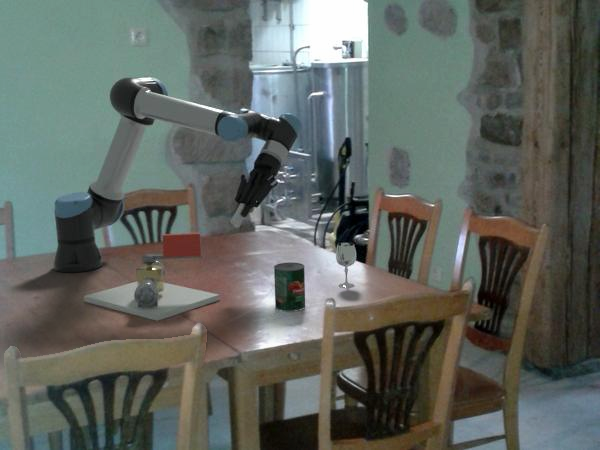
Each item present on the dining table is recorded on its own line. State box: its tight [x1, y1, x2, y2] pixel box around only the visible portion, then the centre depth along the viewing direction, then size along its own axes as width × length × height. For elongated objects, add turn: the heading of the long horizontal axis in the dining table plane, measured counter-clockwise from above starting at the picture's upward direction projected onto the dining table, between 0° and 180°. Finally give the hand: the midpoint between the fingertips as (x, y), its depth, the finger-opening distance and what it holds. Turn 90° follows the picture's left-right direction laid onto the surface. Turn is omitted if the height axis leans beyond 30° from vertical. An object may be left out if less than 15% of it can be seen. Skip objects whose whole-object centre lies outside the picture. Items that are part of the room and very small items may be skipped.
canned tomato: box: [273, 261, 306, 312], centre depth 204 cm, size 8×8×11 cm
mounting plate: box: [83, 281, 220, 322], centre depth 213 cm, size 30×22×2 cm
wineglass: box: [335, 242, 357, 289], centre depth 222 cm, size 6×6×12 cm
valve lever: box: [141, 232, 202, 265], centre depth 211 cm, size 16×4×7 cm, turn 96°
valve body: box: [134, 260, 166, 307], centre depth 212 cm, size 26×7×9 cm, turn 6°
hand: (234, 224), depth 221 cm, fingers closed
